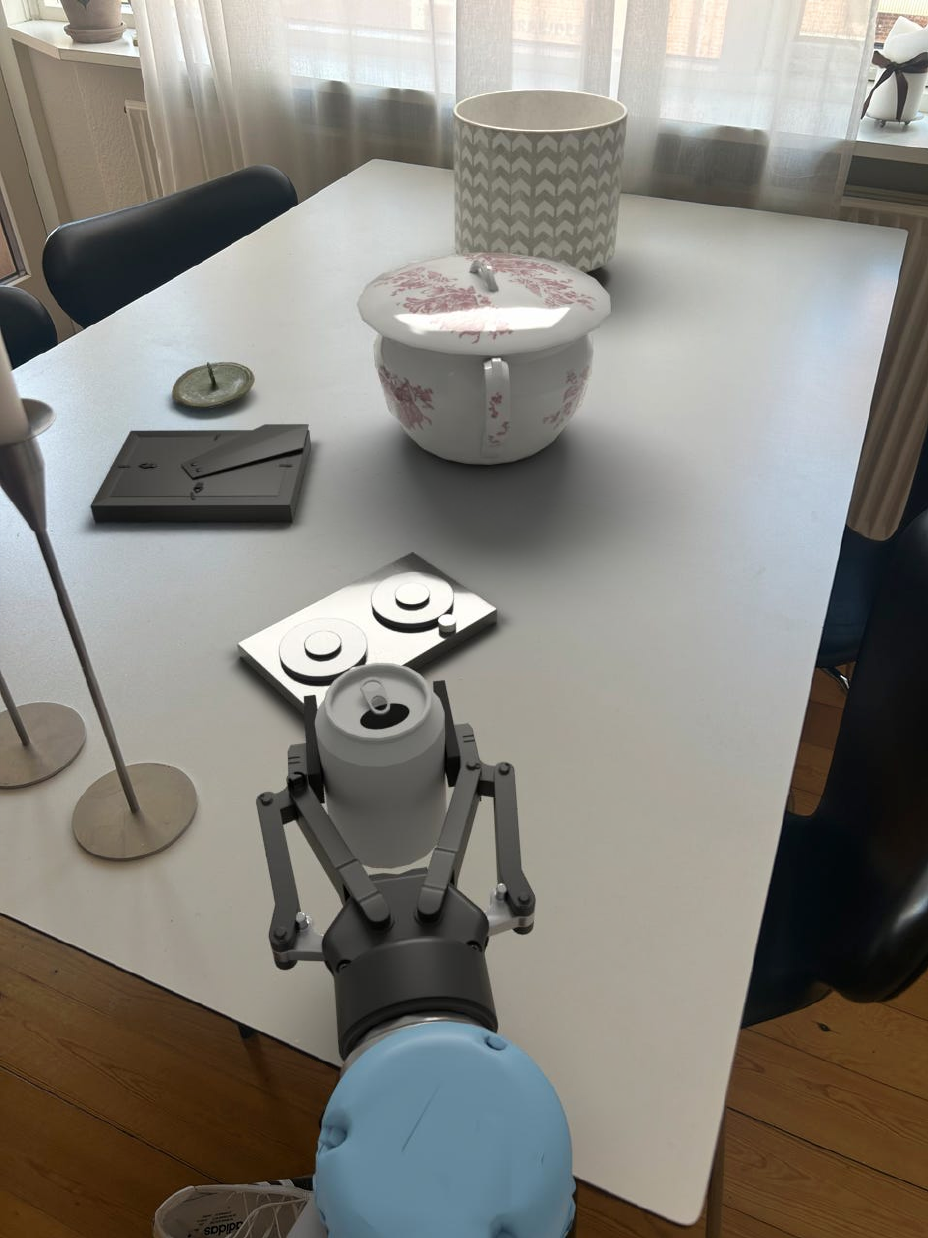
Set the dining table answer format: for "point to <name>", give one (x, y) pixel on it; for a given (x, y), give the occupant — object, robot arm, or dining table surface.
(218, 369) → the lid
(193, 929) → the dining table surface
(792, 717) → the dining table surface
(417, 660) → the hob
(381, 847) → the can
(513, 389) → the chamber pot
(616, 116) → the planter
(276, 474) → the picture frame
